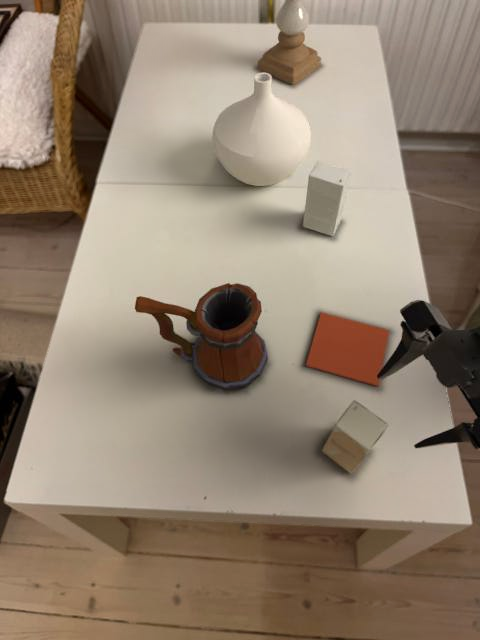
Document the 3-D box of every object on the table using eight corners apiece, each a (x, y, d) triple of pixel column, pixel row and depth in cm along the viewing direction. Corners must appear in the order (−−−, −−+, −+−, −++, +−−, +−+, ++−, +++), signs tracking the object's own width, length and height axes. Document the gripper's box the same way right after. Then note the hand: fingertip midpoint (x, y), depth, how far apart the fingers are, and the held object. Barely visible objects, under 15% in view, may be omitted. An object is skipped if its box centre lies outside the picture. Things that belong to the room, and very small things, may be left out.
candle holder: (321, 65, 116) (336, -53, 96) (293, 85, 112) (302, -33, 92) (285, 48, 120) (292, -68, 100) (256, 68, 116) (258, -50, 96)
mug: (144, 384, 73) (121, 334, 60) (159, 319, 79) (142, 261, 66) (263, 396, 72) (267, 347, 59) (270, 329, 78) (274, 272, 65)
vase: (321, 186, 95) (337, 96, 78) (232, 211, 91) (229, 122, 75) (285, 130, 104) (291, 38, 88) (203, 151, 101) (194, 60, 84)
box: (320, 450, 67) (332, 422, 58) (338, 427, 69) (352, 396, 59) (352, 476, 65) (370, 451, 56) (370, 451, 67) (390, 423, 58)
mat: (388, 331, 77) (389, 330, 77) (377, 386, 72) (378, 385, 72) (320, 313, 79) (321, 312, 79) (305, 366, 74) (305, 364, 74)
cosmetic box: (340, 221, 90) (352, 169, 80) (333, 237, 88) (344, 186, 78) (309, 211, 91) (317, 159, 81) (301, 227, 89) (308, 175, 79)
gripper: (442, 252, 50) (327, 336, 57) (561, 417, 40) (405, 492, 48) (478, 278, 58) (373, 349, 65) (585, 421, 48) (447, 485, 56)
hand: (396, 411), depth 58 cm, fingers open, 9 cm apart
